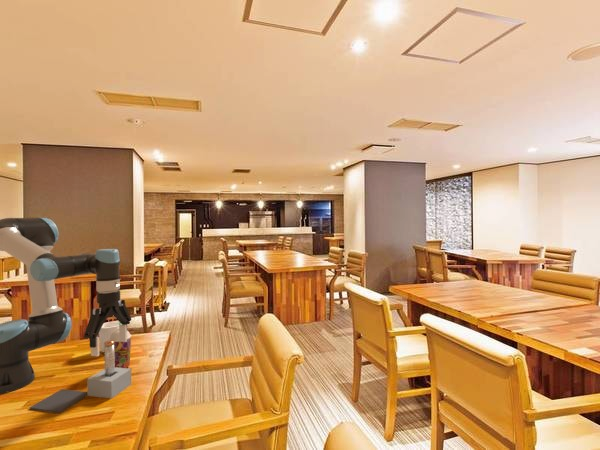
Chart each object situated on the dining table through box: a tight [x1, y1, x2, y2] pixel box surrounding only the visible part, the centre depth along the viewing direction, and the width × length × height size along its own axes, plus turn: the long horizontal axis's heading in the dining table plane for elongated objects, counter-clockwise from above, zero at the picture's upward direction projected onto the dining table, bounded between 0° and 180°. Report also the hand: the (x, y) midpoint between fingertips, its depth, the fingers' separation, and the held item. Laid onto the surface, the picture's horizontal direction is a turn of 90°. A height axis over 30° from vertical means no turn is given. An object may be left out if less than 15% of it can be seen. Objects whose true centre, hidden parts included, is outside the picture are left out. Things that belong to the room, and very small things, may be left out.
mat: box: [29, 388, 88, 414], centre depth 115 cm, size 12×12×1 cm
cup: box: [98, 320, 119, 355], centre depth 158 cm, size 10×10×13 cm
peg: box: [104, 340, 115, 377], centre depth 122 cm, size 3×3×18 cm
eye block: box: [86, 367, 132, 399], centre depth 123 cm, size 10×10×6 cm
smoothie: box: [109, 321, 132, 369], centre depth 139 cm, size 8×8×20 cm
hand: (110, 348), depth 122 cm, fingers open, 13 cm apart
